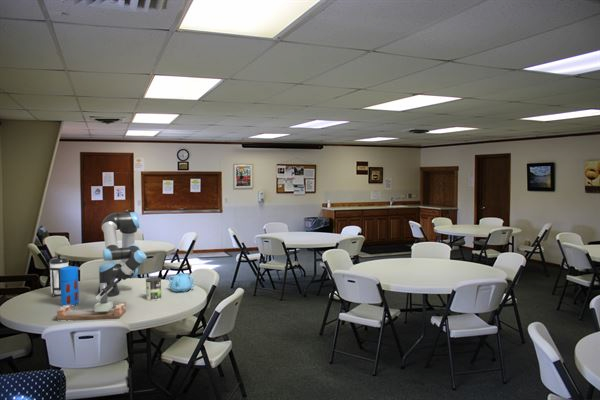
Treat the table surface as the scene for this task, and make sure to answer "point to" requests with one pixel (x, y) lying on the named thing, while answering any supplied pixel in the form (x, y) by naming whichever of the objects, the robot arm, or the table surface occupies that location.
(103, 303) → the carriage
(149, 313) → the table surface
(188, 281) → the decorative pot
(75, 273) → the thermos
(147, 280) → the coffee can
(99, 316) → the rail board
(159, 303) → the table surface
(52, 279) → the coffee press
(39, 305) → the table surface
